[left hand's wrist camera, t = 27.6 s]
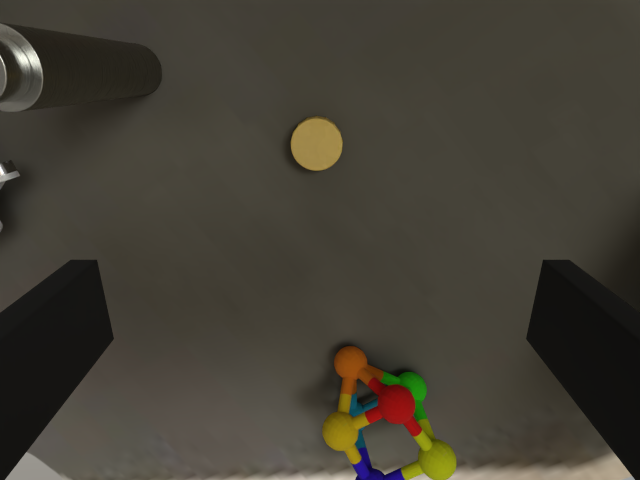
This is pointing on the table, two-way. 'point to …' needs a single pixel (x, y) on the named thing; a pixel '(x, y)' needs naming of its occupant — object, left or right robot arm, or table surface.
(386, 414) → the molecular model
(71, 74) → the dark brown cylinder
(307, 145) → the lid
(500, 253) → the table surface
